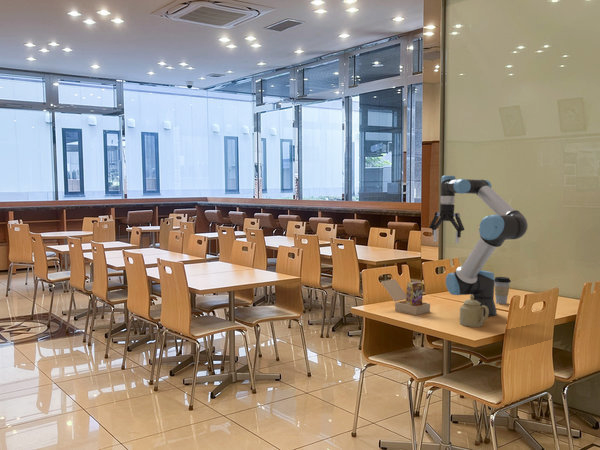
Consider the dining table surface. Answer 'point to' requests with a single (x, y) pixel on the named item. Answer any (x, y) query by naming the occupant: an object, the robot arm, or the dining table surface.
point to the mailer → (412, 308)
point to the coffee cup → (501, 289)
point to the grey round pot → (472, 313)
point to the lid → (394, 290)
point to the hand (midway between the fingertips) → (445, 242)
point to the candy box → (414, 293)
